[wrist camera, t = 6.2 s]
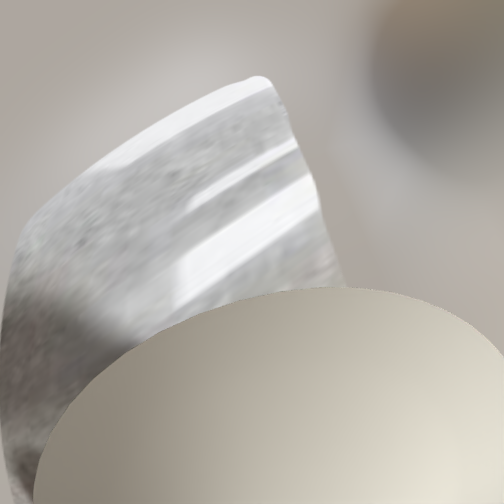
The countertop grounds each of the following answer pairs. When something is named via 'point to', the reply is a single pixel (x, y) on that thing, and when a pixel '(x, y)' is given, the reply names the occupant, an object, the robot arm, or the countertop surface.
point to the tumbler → (290, 409)
